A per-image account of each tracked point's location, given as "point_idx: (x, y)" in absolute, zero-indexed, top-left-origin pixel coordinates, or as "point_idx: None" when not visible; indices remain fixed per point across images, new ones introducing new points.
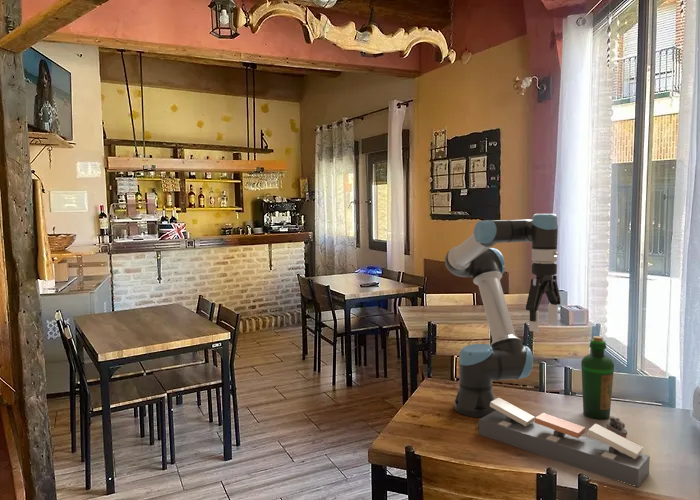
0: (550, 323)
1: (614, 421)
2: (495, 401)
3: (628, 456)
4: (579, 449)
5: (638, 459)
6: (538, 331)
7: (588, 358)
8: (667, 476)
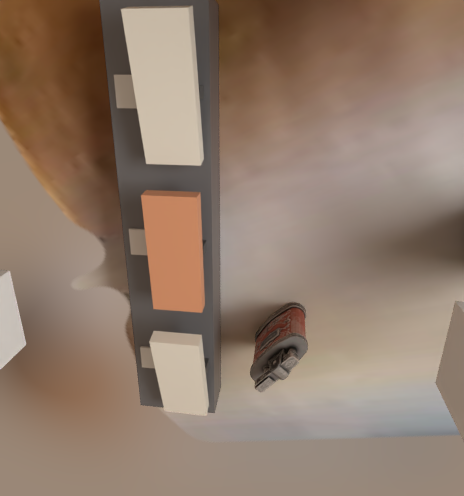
0: (452, 331)
1: (271, 367)
2: (145, 19)
3: None
4: (137, 304)
5: None
6: (21, 345)
7: None
8: (231, 409)
